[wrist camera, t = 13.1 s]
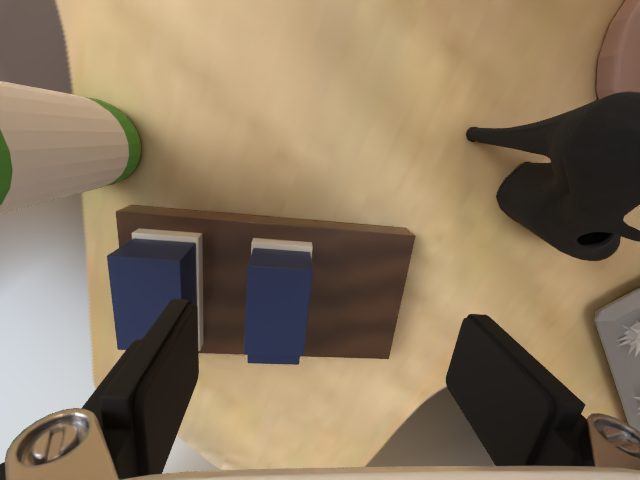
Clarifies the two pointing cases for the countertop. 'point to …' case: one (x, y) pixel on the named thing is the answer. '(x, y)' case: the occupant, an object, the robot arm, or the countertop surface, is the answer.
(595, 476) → the robot arm
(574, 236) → the high-heeled shoe
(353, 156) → the countertop surface
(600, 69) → the hourglass
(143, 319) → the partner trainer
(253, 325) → the blue pale-edged block
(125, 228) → the dark brown flat board
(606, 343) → the decorative tray
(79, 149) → the wine bottle
